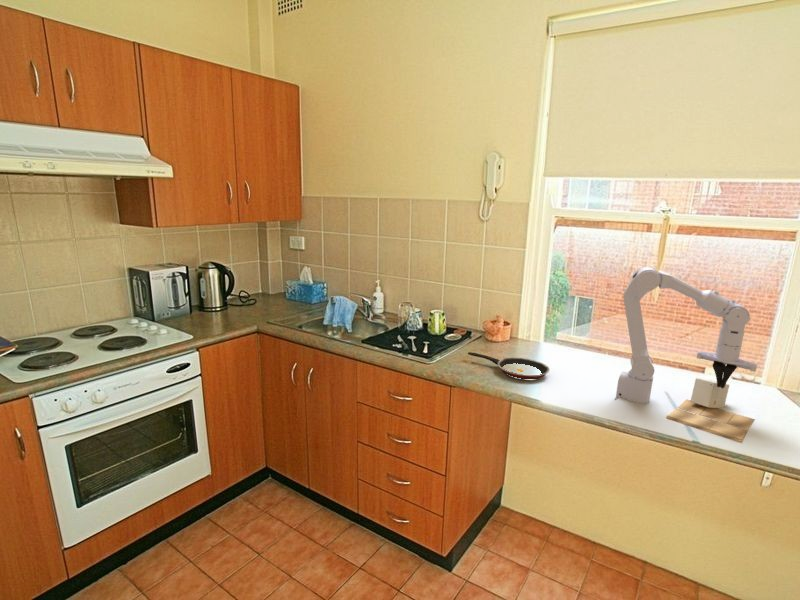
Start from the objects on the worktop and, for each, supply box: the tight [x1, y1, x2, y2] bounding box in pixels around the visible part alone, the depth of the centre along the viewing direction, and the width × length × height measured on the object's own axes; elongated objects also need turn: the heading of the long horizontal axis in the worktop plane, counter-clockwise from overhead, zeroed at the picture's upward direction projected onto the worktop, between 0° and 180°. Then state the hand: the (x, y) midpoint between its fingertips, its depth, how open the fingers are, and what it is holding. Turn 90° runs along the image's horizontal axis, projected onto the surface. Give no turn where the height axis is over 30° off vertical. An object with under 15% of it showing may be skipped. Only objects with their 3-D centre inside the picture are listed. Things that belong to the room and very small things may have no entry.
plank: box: [665, 407, 749, 443], centre depth 129 cm, size 18×10×1 cm, turn 43°
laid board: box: [677, 398, 756, 431], centre depth 136 cm, size 18×10×1 cm, turn 43°
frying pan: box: [467, 351, 550, 380], centre depth 170 cm, size 19×32×4 cm, turn 56°
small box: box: [690, 377, 730, 409], centre depth 141 cm, size 8×6×10 cm
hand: (720, 386), depth 135 cm, fingers closed
